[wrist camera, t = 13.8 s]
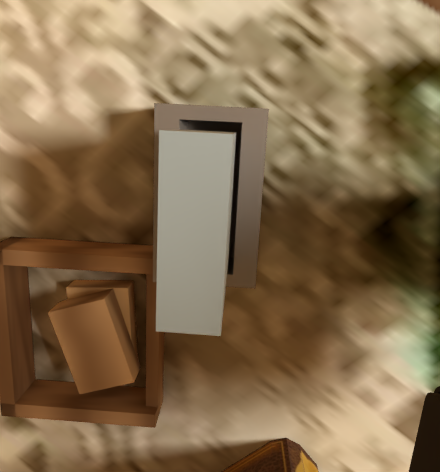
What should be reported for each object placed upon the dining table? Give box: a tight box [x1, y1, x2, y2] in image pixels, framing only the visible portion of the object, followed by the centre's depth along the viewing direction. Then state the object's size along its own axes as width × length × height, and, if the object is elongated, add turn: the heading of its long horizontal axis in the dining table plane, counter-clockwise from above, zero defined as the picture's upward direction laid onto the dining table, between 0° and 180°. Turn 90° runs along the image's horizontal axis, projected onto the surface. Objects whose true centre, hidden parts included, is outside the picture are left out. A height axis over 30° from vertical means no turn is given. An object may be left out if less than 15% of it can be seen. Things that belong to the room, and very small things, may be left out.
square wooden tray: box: [0, 237, 164, 427], centre depth 34 cm, size 13×14×4 cm
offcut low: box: [66, 280, 138, 358], centre depth 35 cm, size 5×8×2 cm, turn 1°
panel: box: [156, 130, 237, 336], centre depth 25 cm, size 3×9×14 cm, turn 177°
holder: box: [153, 103, 269, 288], centre depth 30 cm, size 7×12×5 cm, turn 177°
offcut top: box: [48, 288, 141, 394], centre depth 33 cm, size 5×7×2 cm, turn 15°
